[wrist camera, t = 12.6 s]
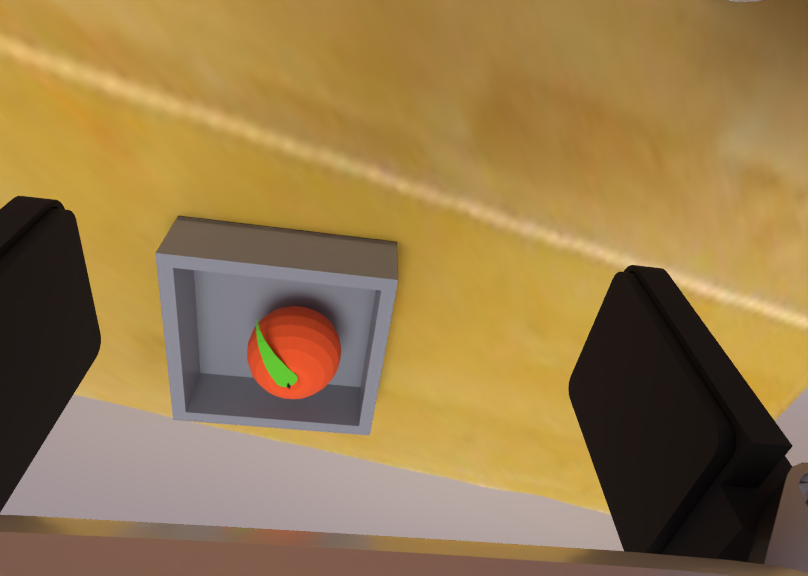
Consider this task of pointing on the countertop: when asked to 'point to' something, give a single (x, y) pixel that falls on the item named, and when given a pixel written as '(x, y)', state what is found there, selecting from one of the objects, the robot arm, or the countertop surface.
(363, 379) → the bin
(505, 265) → the countertop surface
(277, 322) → the clementine
